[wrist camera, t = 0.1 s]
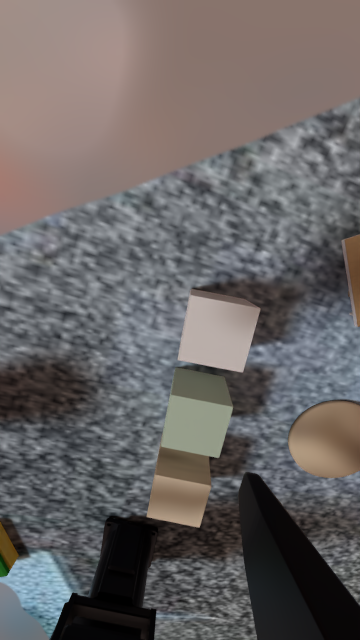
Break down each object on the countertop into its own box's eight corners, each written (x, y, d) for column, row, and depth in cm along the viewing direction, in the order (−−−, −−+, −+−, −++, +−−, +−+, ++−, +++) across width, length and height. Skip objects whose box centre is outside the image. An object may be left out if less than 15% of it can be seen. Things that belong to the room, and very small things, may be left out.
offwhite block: (231, 348, 21) (242, 372, 17) (181, 339, 22) (177, 359, 17) (244, 298, 20) (260, 308, 15) (190, 288, 20) (190, 294, 15)
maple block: (198, 477, 25) (199, 527, 20) (155, 469, 25) (146, 517, 20) (207, 441, 24) (211, 485, 19) (162, 432, 24) (155, 474, 19)
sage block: (213, 418, 23) (219, 458, 19) (167, 409, 23) (160, 446, 19) (224, 376, 22) (233, 406, 17) (175, 366, 22) (170, 394, 17)
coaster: (358, 480, 24) (362, 485, 24) (277, 464, 24) (279, 468, 24) (392, 409, 22) (397, 413, 21) (303, 392, 22) (305, 395, 21)
